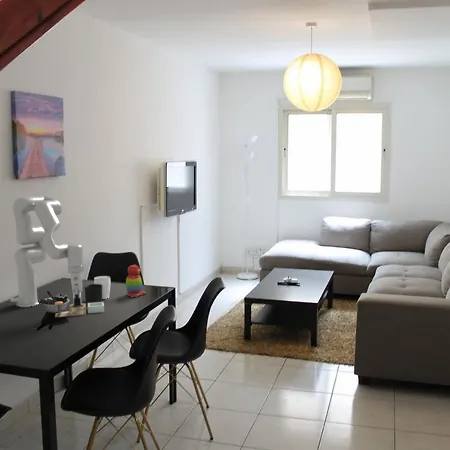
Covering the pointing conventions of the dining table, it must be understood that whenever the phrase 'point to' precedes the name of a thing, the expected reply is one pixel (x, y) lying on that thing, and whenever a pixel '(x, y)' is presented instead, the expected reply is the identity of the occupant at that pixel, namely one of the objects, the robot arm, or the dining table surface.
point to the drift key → (58, 304)
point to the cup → (103, 285)
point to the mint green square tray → (95, 307)
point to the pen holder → (93, 293)
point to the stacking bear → (134, 281)
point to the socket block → (72, 311)
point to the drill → (80, 300)
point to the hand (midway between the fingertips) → (77, 304)
